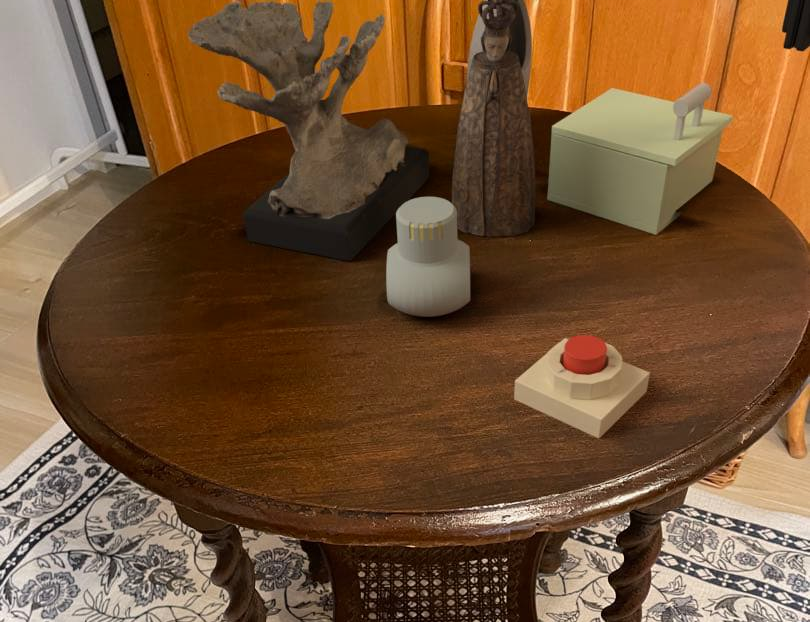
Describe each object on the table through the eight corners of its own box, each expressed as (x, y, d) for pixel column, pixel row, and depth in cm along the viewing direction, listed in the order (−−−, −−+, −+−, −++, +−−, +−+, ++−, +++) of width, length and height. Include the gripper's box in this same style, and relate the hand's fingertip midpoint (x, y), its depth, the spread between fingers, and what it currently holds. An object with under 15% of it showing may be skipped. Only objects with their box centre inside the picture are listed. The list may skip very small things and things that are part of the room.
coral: (334, 279, 94) (304, 68, 78) (186, 244, 101) (131, 44, 85) (435, 178, 108) (428, -17, 92) (299, 154, 115) (271, -32, 99)
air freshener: (393, 274, 94) (386, 184, 86) (469, 271, 93) (468, 181, 86) (388, 332, 87) (380, 240, 79) (470, 329, 86) (470, 237, 79)
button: (612, 360, 76) (615, 344, 74) (590, 381, 74) (592, 364, 73) (577, 346, 77) (579, 329, 76) (554, 366, 76) (556, 349, 74)
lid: (731, 122, 96) (741, 74, 92) (674, 166, 90) (683, 116, 86) (611, 94, 103) (616, 49, 99) (551, 133, 97) (554, 86, 93)
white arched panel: (511, 186, 106) (516, 15, 92) (454, 182, 107) (451, 14, 93) (537, 122, 117) (545, -38, 103) (486, 119, 119) (487, -39, 105)
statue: (474, 249, 96) (474, -4, 78) (444, 220, 101) (438, -25, 82) (542, 229, 98) (557, -23, 80) (509, 201, 103) (517, -42, 84)
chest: (710, 190, 102) (724, 122, 96) (656, 235, 96) (667, 166, 90) (604, 159, 109) (611, 95, 103) (547, 199, 103) (551, 133, 97)
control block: (646, 392, 78) (653, 355, 75) (598, 439, 74) (603, 402, 71) (563, 356, 82) (566, 321, 79) (513, 399, 78) (515, 363, 75)
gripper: (737, -248, 59) (693, 45, 72) (974, -249, 52) (876, 77, 65) (785, -267, 62) (734, 16, 76) (1013, -270, 55) (912, 43, 69)
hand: (800, 44), depth 70 cm, fingers closed
